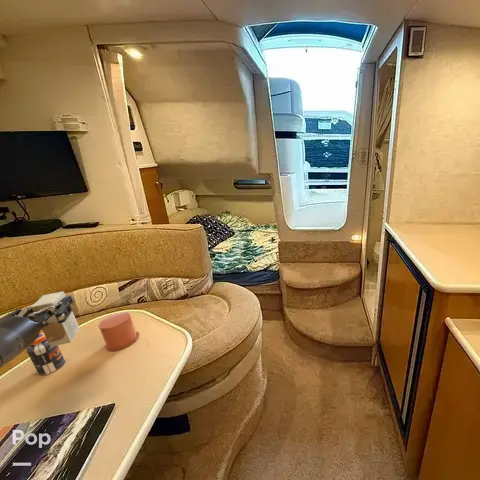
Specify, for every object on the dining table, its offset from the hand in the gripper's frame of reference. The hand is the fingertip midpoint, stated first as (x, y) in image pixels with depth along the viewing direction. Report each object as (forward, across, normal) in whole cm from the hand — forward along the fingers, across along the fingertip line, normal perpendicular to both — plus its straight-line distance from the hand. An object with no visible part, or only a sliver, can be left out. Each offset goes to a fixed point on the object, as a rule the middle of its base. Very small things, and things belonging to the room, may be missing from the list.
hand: (58, 300), depth 70 cm
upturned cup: (+11, -4, +24) cm, 27 cm away
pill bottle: (+5, +12, +24) cm, 27 cm away
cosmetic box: (-3, 0, +10) cm, 11 cm away
